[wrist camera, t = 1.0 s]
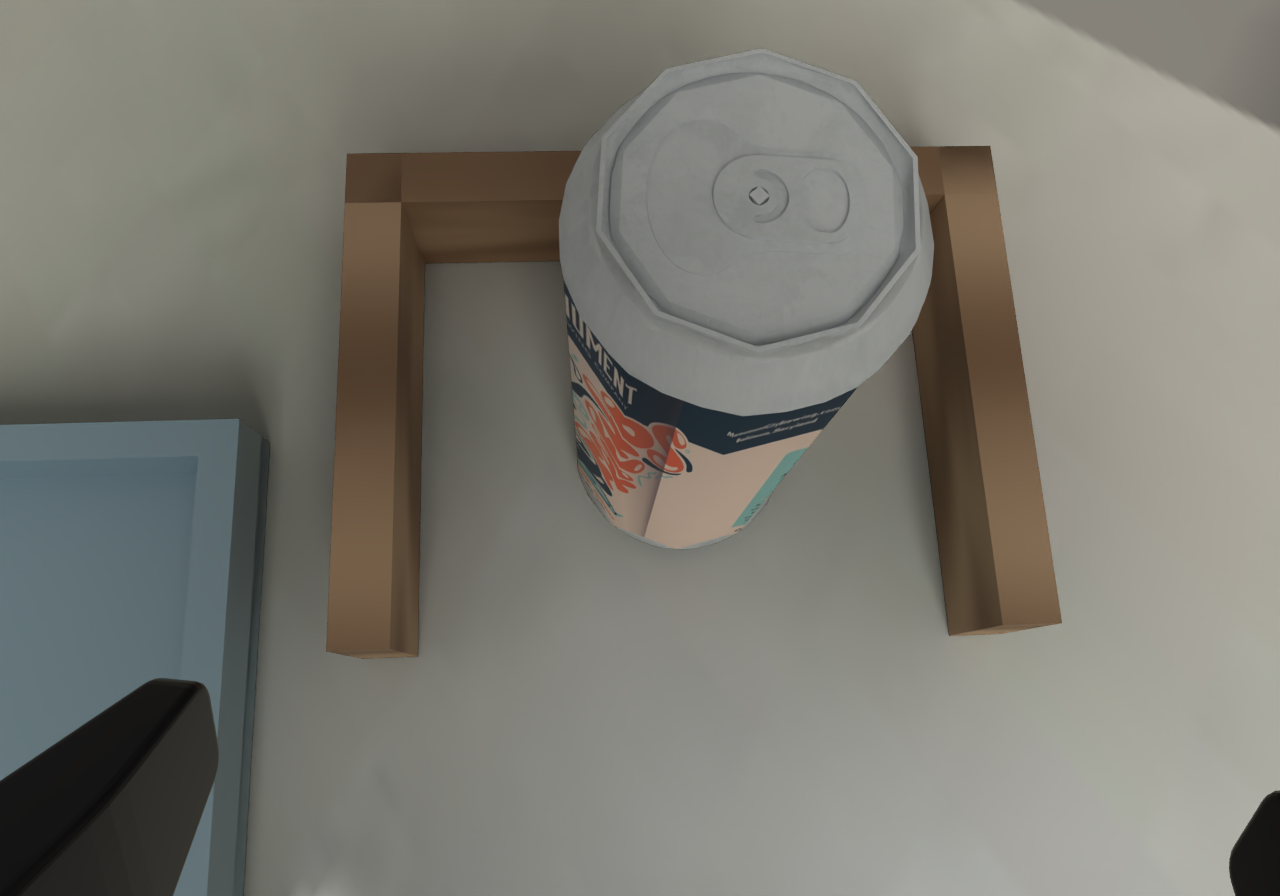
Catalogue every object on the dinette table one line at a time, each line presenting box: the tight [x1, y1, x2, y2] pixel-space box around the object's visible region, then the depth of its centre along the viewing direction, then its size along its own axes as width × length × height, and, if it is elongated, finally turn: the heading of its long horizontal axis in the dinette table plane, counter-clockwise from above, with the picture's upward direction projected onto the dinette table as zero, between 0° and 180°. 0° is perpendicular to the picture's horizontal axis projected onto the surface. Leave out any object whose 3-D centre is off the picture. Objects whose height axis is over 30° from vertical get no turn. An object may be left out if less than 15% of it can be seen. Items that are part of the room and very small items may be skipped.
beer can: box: [559, 48, 934, 549], centre depth 17 cm, size 5×5×12 cm
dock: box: [326, 146, 1062, 659], centre depth 22 cm, size 11×14×3 cm
